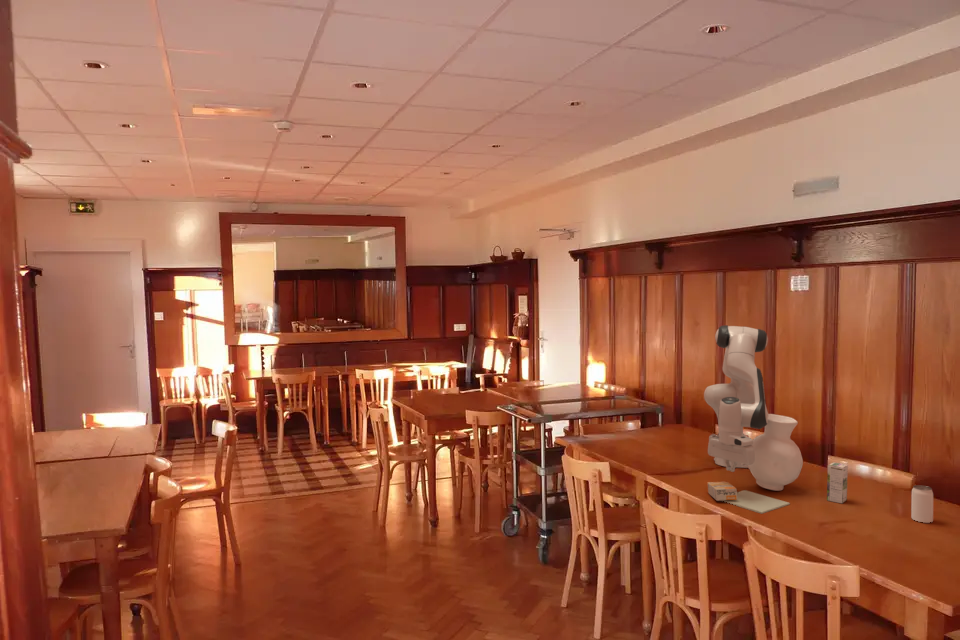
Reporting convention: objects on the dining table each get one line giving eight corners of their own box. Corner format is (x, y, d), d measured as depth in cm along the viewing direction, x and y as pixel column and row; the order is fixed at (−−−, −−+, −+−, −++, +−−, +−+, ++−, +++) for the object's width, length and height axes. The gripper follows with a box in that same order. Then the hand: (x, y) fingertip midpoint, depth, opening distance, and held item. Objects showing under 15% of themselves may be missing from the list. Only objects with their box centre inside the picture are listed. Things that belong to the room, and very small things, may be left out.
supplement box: (726, 480, 269) (737, 488, 256) (727, 492, 269) (738, 500, 256) (706, 481, 269) (715, 489, 256) (707, 493, 269) (716, 501, 256)
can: (933, 524, 229) (933, 491, 228) (911, 521, 232) (911, 488, 232) (932, 519, 235) (932, 486, 234) (910, 516, 238) (911, 483, 237)
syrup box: (831, 497, 261) (831, 461, 260) (847, 500, 256) (847, 464, 256) (826, 500, 257) (826, 464, 256) (843, 504, 252) (843, 467, 252)
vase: (738, 475, 285) (748, 408, 282) (790, 483, 281) (801, 416, 278) (746, 489, 267) (757, 418, 264) (802, 498, 263) (814, 427, 259)
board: (745, 491, 270) (745, 490, 270) (789, 504, 253) (789, 502, 253) (716, 499, 261) (716, 498, 261) (761, 513, 244) (761, 512, 244)
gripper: (704, 434, 271) (704, 466, 272) (747, 443, 254) (747, 477, 255) (714, 432, 275) (714, 464, 275) (757, 440, 258) (757, 475, 258)
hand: (730, 470), depth 265 cm, fingers closed
